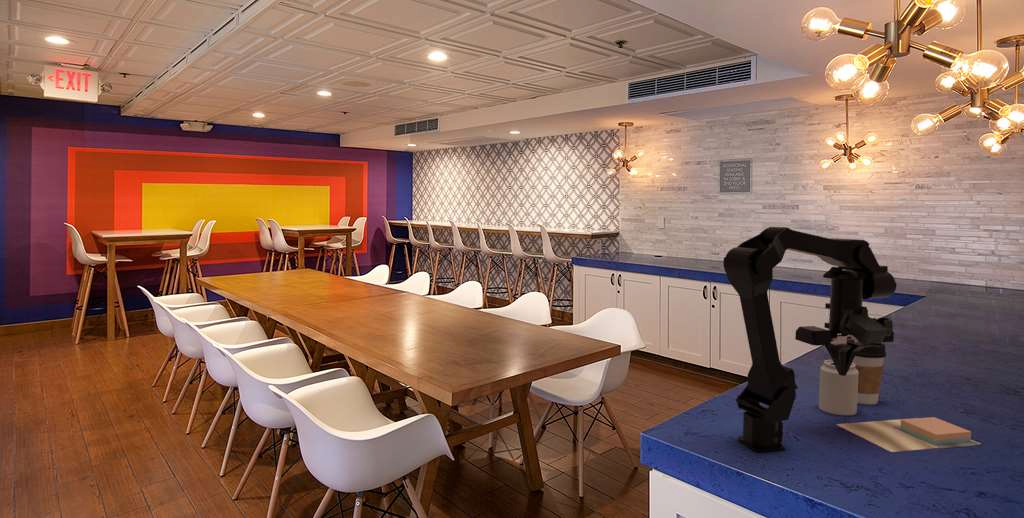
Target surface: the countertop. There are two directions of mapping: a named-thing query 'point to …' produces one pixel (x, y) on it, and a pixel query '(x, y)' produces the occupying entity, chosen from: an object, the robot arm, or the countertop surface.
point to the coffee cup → (869, 372)
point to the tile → (935, 430)
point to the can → (838, 390)
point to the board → (895, 436)
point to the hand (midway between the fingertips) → (842, 375)
